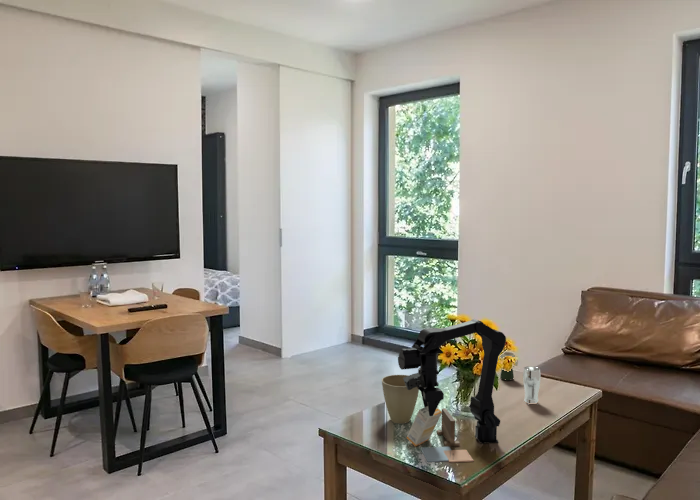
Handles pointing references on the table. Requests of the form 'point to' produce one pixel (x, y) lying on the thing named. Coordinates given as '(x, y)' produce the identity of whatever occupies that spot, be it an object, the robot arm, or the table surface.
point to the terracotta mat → (459, 456)
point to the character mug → (509, 374)
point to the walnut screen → (448, 429)
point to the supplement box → (423, 426)
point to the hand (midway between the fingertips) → (428, 411)
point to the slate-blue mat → (436, 453)
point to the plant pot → (399, 398)
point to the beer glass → (531, 383)
